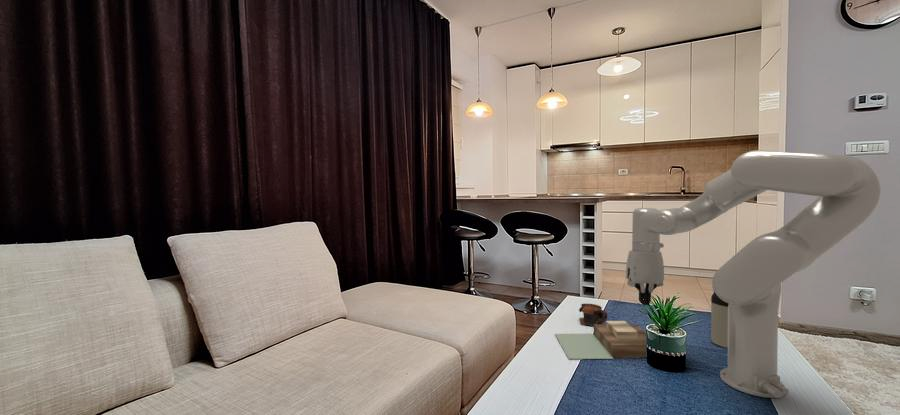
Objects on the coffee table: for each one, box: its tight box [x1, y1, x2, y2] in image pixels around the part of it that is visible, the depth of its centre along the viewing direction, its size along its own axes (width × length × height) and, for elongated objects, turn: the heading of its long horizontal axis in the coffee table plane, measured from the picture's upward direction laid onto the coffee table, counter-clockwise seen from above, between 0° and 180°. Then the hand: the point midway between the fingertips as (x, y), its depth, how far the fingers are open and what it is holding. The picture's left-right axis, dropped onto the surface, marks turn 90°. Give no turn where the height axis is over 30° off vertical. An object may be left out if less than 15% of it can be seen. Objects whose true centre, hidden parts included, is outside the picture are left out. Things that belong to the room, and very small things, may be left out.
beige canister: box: [710, 286, 729, 349], centre depth 110 cm, size 8×8×18 cm
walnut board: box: [593, 323, 647, 359], centre depth 112 cm, size 16×14×4 cm
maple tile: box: [605, 320, 638, 340], centre depth 112 cm, size 9×6×2 cm, turn 176°
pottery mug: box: [578, 303, 608, 327], centre depth 131 cm, size 12×10×8 cm
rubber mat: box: [554, 332, 615, 361], centre depth 113 cm, size 18×13×1 cm
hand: (644, 303), depth 111 cm, fingers closed
